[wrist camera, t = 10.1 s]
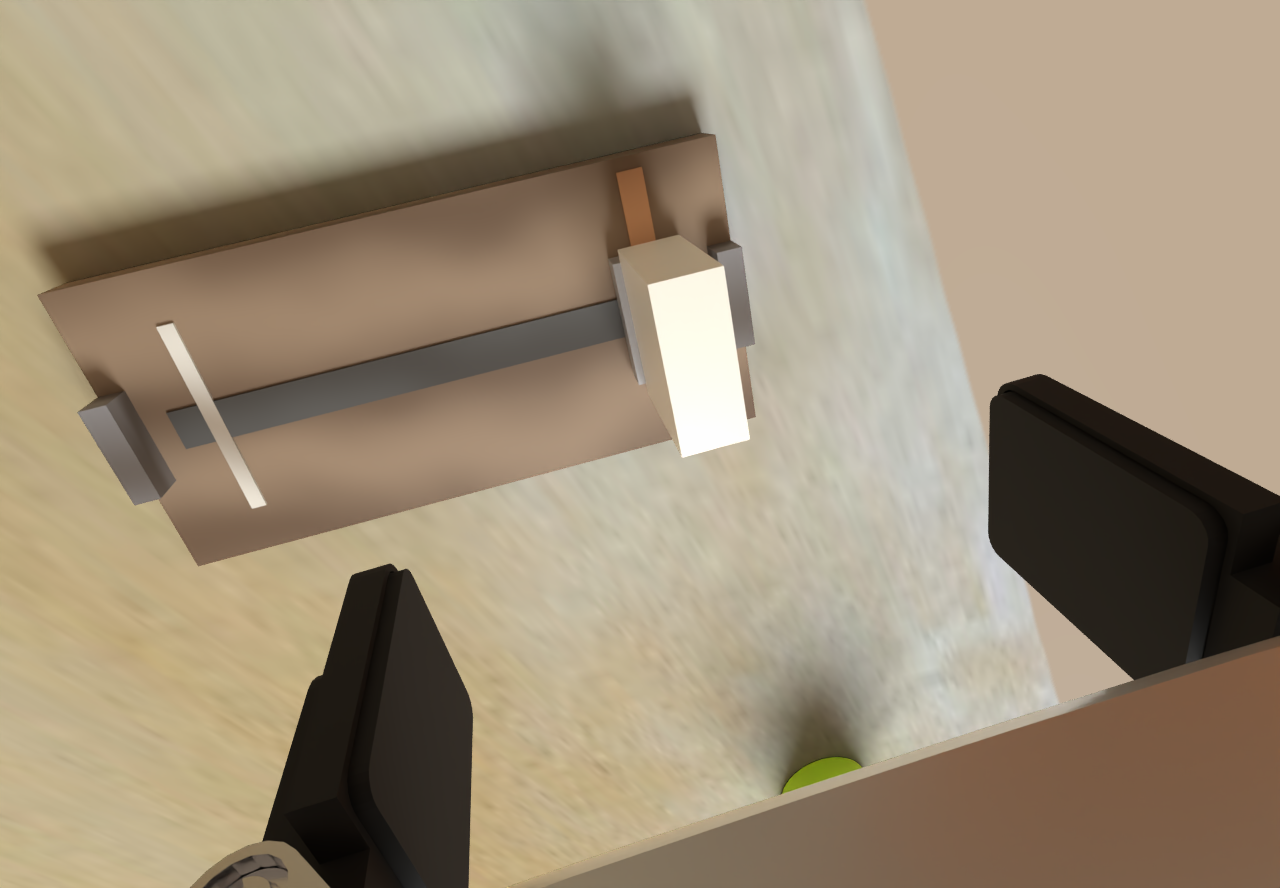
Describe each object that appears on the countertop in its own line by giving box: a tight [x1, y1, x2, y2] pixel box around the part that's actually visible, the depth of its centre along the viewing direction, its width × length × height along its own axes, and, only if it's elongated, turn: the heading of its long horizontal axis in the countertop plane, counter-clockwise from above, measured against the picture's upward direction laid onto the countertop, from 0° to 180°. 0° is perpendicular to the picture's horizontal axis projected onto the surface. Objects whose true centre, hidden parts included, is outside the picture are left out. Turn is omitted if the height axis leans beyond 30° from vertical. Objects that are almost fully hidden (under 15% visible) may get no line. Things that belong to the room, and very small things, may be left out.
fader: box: [608, 235, 750, 457], centre depth 26 cm, size 6×3×7 cm, turn 12°
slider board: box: [37, 133, 756, 566], centre depth 29 cm, size 12×25×4 cm, turn 102°
